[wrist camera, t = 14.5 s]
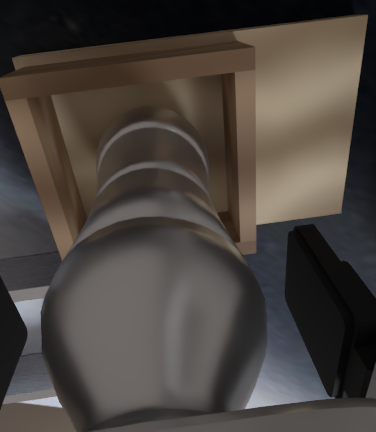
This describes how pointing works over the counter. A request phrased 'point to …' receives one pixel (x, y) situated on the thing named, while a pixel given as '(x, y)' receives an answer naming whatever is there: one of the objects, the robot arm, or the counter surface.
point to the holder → (20, 291)
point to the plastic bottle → (152, 289)
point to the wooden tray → (201, 117)
